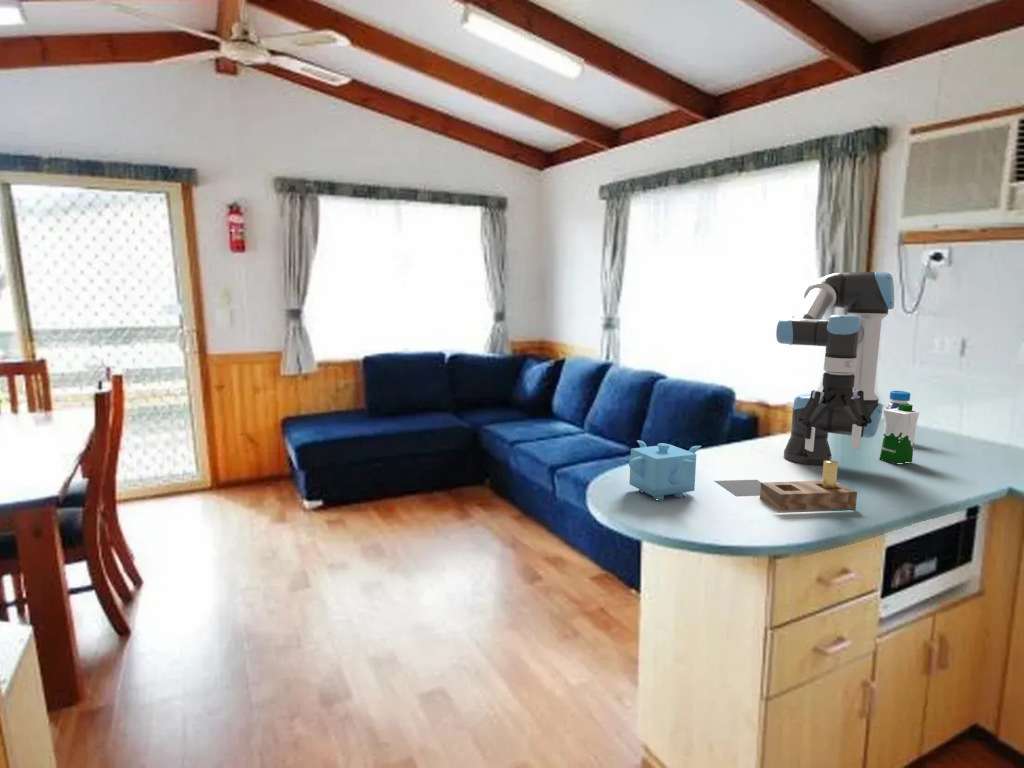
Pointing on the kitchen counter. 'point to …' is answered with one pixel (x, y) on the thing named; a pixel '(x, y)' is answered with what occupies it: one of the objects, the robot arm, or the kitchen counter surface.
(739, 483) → the mat
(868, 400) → the robot arm
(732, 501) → the kitchen counter surface
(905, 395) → the beverage bottle
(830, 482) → the peg
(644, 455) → the teakettle
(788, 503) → the hole block
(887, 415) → the milk carton
